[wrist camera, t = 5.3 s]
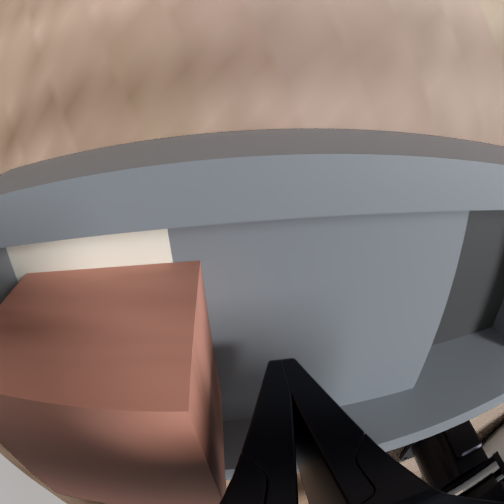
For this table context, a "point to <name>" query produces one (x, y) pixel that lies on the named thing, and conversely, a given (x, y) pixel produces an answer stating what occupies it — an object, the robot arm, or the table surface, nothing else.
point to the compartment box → (299, 259)
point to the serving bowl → (492, 450)
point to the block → (114, 384)
